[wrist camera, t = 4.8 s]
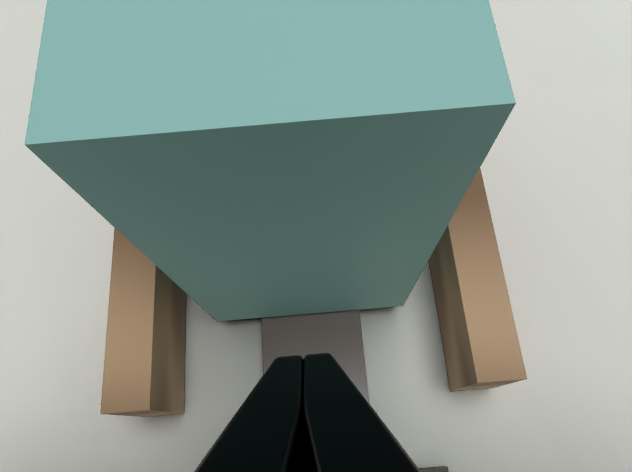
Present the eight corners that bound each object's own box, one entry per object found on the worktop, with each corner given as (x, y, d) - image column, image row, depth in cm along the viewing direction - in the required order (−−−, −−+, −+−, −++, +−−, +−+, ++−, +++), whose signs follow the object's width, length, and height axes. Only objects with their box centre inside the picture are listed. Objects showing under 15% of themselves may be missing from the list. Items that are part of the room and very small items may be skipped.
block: (402, 305, 15) (516, 102, 6) (216, 321, 15) (24, 145, 6) (382, 160, 17) (441, -176, 7) (216, 174, 17) (69, -143, 7)
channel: (568, 789, 12) (643, 902, 9) (125, 823, 12) (59, 948, 9) (402, -65, 22) (412, -137, 19) (165, -44, 22) (140, -114, 19)
